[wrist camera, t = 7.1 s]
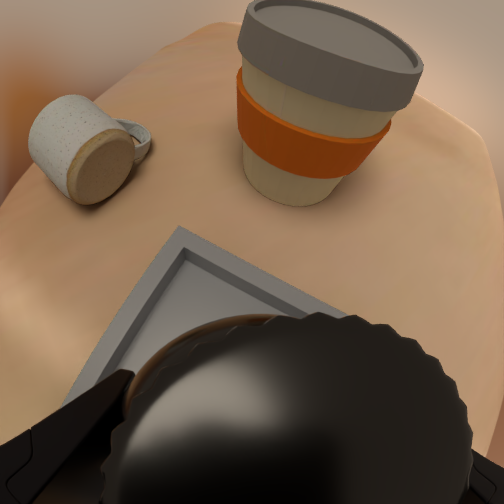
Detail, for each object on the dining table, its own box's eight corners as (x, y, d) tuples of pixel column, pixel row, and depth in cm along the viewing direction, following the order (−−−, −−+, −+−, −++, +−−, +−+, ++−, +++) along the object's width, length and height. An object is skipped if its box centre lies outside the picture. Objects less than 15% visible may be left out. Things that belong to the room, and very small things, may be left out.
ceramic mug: (85, 227, 22) (53, 165, 16) (43, 182, 24) (15, 125, 17) (172, 154, 27) (168, 87, 20) (121, 122, 28) (112, 63, 22)
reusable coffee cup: (372, 180, 29) (445, 65, 16) (296, 252, 24) (383, 95, 11) (284, 112, 32) (317, -5, 18) (195, 159, 27) (200, 4, 13)
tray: (386, 351, 21) (405, 344, 19) (283, 551, 13) (293, 567, 10) (181, 244, 23) (178, 225, 20) (60, 439, 15) (41, 443, 12)
